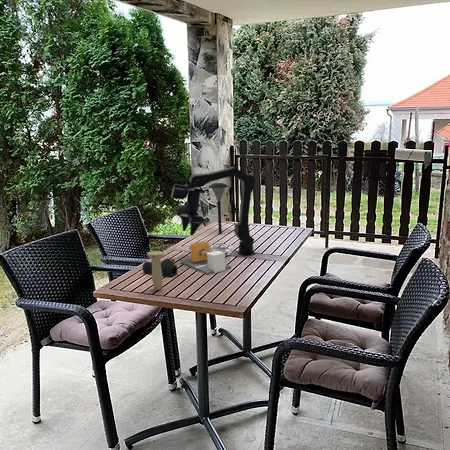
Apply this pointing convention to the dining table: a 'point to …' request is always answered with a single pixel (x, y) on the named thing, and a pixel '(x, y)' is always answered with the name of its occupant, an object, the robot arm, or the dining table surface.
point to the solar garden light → (218, 199)
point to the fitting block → (216, 261)
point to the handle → (156, 268)
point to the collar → (195, 251)
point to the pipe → (201, 252)
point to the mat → (201, 266)
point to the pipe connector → (162, 267)
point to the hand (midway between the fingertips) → (187, 233)
